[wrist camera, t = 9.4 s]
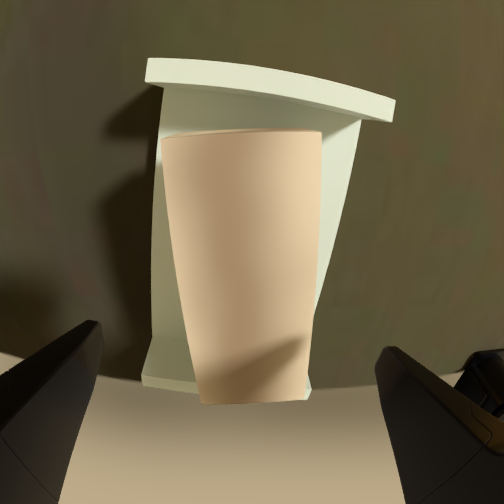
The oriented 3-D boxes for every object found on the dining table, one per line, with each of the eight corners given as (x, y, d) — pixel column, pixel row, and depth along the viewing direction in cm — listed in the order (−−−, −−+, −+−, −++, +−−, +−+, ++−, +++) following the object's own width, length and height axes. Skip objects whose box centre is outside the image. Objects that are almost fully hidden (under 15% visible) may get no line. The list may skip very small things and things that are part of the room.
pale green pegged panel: (357, 101, 15) (395, 100, 11) (296, 352, 22) (307, 399, 18) (170, 71, 14) (148, 57, 10) (155, 339, 21) (142, 385, 17)
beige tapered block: (302, 127, 12) (321, 132, 9) (295, 358, 17) (304, 398, 14) (177, 133, 12) (160, 139, 9) (205, 363, 17) (201, 404, 14)
